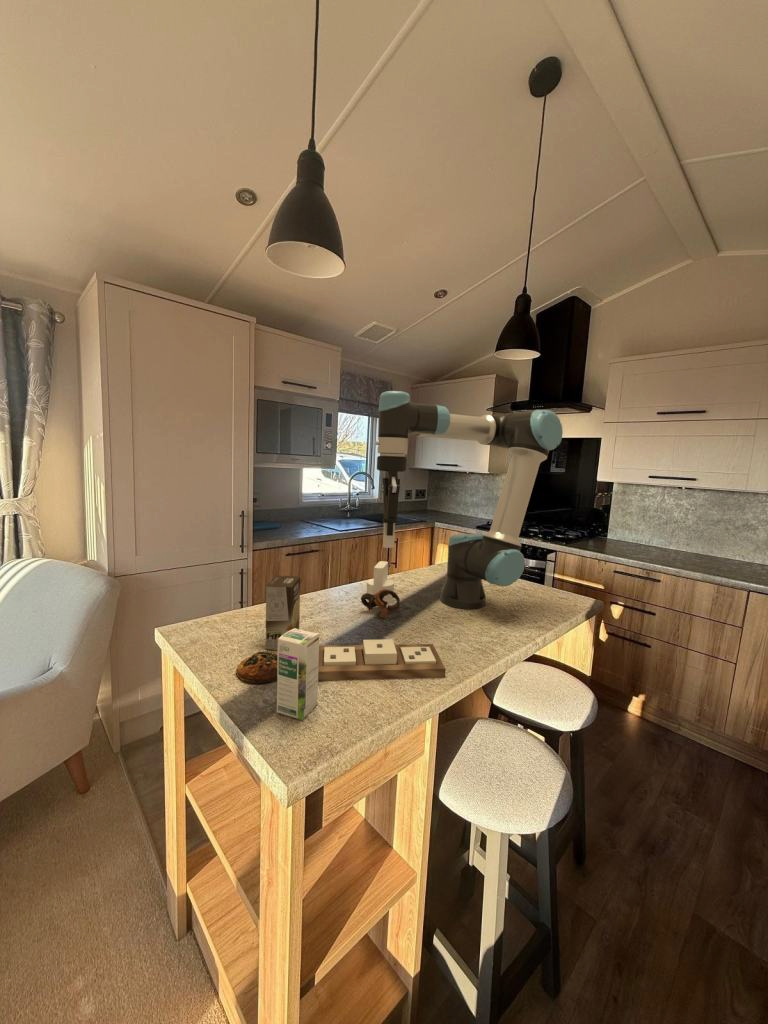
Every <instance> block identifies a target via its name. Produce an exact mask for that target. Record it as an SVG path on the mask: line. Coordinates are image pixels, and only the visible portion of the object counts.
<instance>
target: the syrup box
mask: <svg viewBox="0 0 768 1024" xmlns="http://www.w3.org/2000/svg"><path fill="white" fill-rule="evenodd" d="M319 646H320V633H319V632H312V631H307V630H303V629H300V628H299V629H296V628H294V629H292V630H290V631H288V632H286V633H285V634H283V635H282V636H281V637H280V638H278V650H277V653H278V656H277V661H278V663H277V680H276V683H277V686H276V687H277V688H276V689H277V690H276V691H277V692H276V693H277V694H276V696H277V697H276V713H277V714H282V715H284V716H288V717H292V718H294V719H297V720H300V721H303V720H304V719H305V718H306V717H307V716H308V715H309V714H311V712H312V711H313V710H314V708H315V707H316V706H317V705H318V702H319V701H318V698H319V694H318V692H319V681H318V666H319Z"/></svg>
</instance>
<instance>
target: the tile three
mask: <svg viewBox="0 0 768 1024" xmlns="http://www.w3.org/2000/svg"><path fill="white" fill-rule="evenodd" d="M400 653H401V656H402V659H403V662H404V665H405V664H436V660H435V657H434V655H433V653H432V651H431V649H430V647H401V648H400Z"/></svg>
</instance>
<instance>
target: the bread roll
mask: <svg viewBox="0 0 768 1024" xmlns="http://www.w3.org/2000/svg"><path fill="white" fill-rule="evenodd" d="M277 656H278V652H275V651H273V650H272V651H269V650H264V651H258V652H256V653H253V654H252V655H250V656H248V657H245V658H244V659H243V660H242V661H241V662H240V663H239V664H238V665H237V668H236V669H235V673H236V675H237V677H238V679H240V680H242V681H243V682H244V683H249V684H259V683H260V684H259V685H261V684H268V683H267V682H269V683H273V682H275V680H276V681H277V663H278V661H277Z"/></svg>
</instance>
